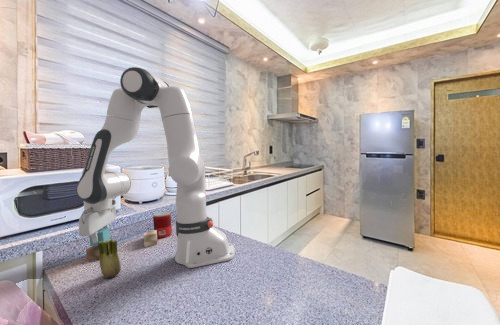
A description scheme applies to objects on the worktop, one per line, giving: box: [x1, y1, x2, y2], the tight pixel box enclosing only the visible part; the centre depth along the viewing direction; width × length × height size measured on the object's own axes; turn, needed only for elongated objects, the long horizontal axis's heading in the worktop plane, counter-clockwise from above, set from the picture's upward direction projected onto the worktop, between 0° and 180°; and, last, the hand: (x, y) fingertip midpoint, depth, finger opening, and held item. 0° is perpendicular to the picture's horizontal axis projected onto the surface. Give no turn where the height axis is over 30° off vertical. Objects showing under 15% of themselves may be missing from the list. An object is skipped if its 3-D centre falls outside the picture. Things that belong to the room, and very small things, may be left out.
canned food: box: [152, 210, 173, 239], centre depth 107 cm, size 8×8×11 cm
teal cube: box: [89, 227, 111, 247], centre depth 89 cm, size 5×5×5 cm
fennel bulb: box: [98, 239, 122, 279], centre depth 73 cm, size 6×5×12 cm
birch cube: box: [143, 229, 158, 248], centre depth 98 cm, size 5×5×5 cm
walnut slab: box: [85, 241, 109, 260], centre depth 89 cm, size 7×7×4 cm
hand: (100, 238), depth 89 cm, fingers closed on teal cube, 5 cm apart
